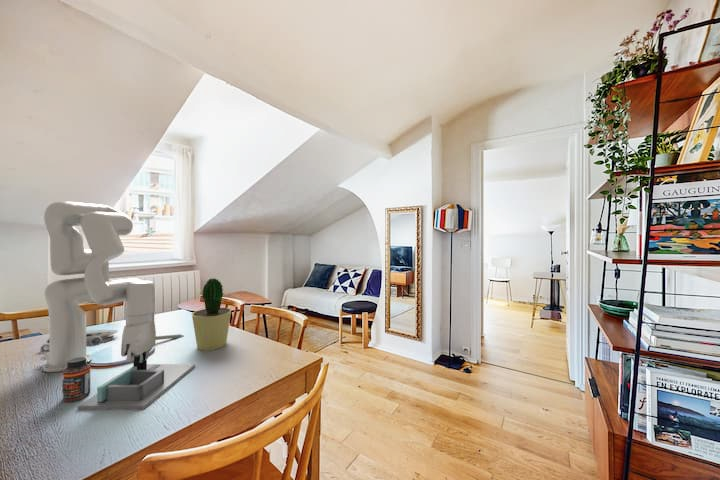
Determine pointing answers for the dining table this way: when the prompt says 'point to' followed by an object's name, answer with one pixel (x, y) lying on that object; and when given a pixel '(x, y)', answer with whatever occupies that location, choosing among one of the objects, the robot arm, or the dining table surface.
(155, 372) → the housing
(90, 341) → the car model
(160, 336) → the caliper
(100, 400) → the bar
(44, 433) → the dining table surface
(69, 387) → the supplement bottle
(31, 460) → the dining table surface
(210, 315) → the potted cactus
